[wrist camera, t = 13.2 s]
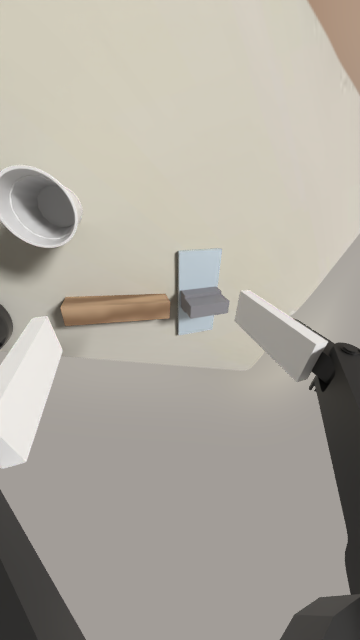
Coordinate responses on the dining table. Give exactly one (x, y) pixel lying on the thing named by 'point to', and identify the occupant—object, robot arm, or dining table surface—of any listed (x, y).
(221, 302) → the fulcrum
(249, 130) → the dining table surface
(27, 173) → the cup
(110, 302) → the bar
